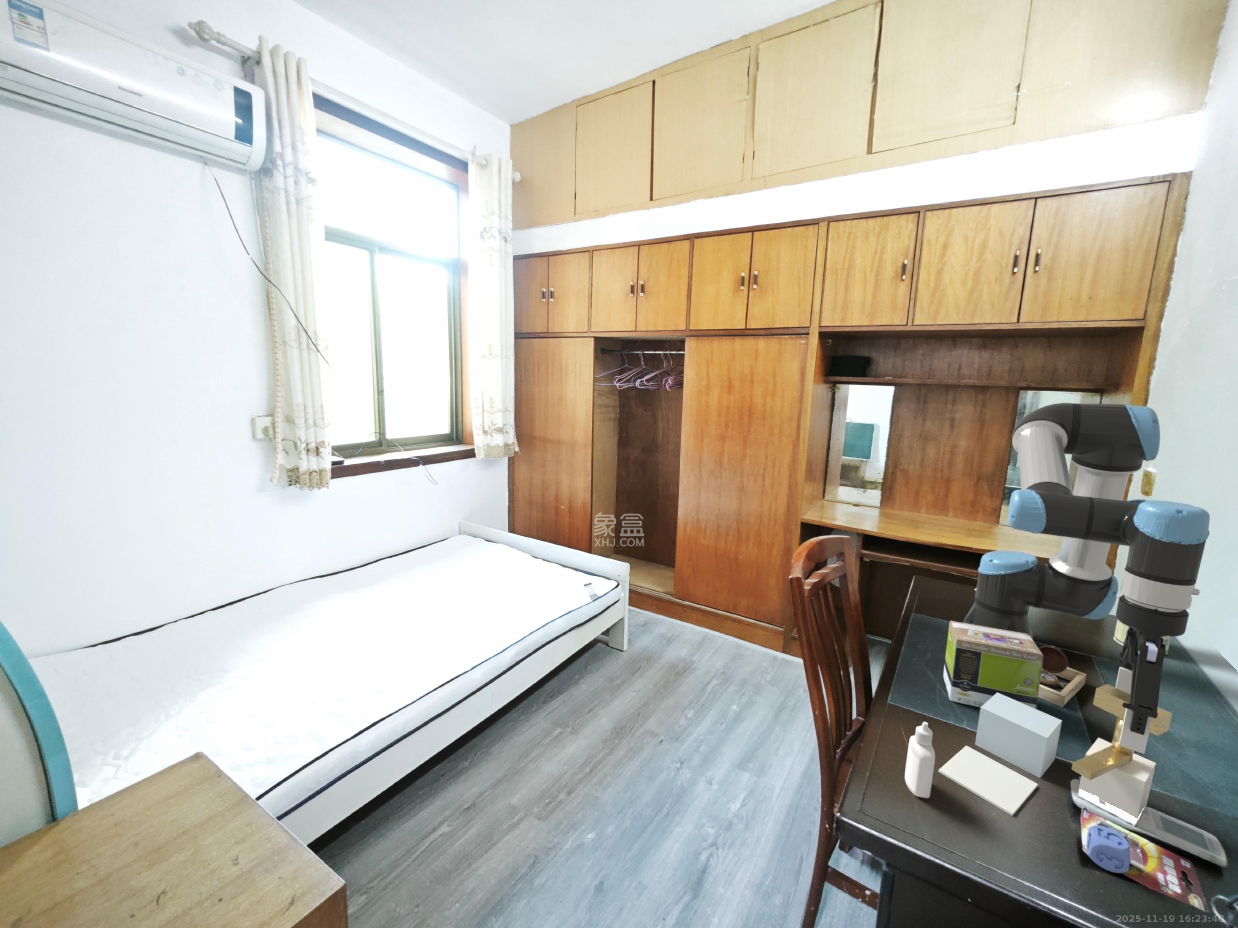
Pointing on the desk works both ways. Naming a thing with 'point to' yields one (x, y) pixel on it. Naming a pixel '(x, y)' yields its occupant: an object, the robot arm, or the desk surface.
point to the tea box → (991, 665)
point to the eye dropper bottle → (920, 762)
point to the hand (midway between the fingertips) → (1127, 725)
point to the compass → (1052, 665)
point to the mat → (989, 779)
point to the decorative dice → (1108, 849)
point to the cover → (1018, 734)
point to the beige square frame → (1068, 691)
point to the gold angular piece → (1115, 734)
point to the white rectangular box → (1122, 782)
